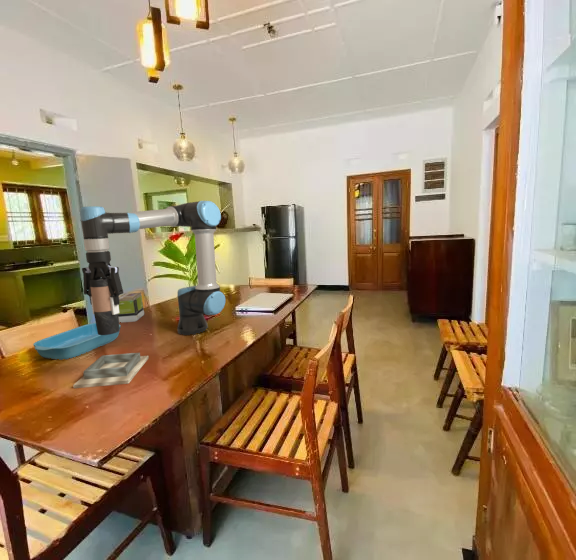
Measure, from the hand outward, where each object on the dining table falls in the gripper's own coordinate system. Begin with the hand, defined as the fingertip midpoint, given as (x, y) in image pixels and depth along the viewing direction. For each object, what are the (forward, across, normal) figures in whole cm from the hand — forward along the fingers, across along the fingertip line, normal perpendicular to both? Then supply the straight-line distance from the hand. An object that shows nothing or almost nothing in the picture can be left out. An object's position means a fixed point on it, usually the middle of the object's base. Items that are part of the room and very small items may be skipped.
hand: (106, 313), depth 118 cm
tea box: (+23, +46, -66) cm, 84 cm away
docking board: (+23, 0, 0) cm, 23 cm away
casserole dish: (+23, +36, -21) cm, 48 cm away
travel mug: (+7, 0, 0) cm, 7 cm away
